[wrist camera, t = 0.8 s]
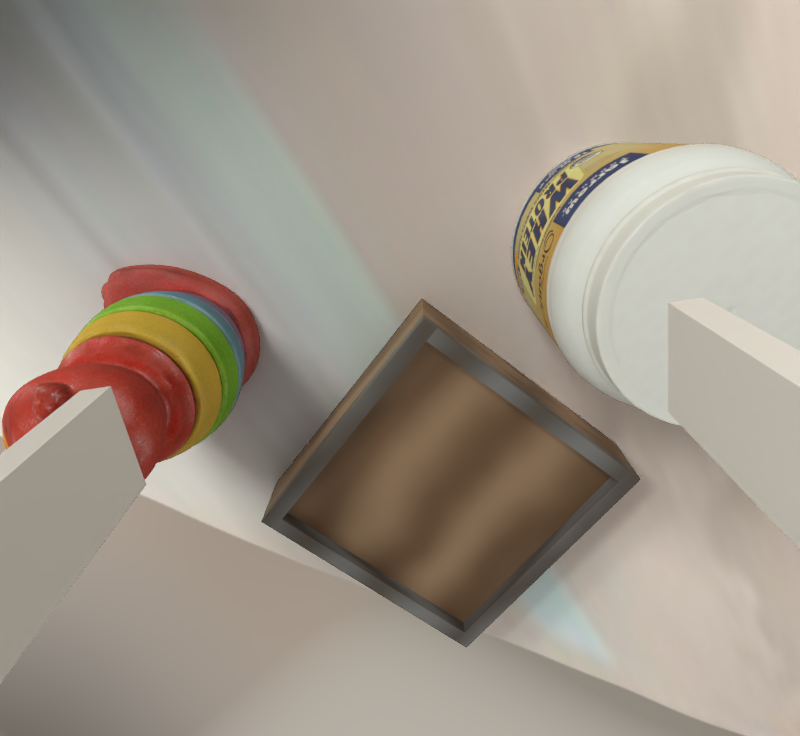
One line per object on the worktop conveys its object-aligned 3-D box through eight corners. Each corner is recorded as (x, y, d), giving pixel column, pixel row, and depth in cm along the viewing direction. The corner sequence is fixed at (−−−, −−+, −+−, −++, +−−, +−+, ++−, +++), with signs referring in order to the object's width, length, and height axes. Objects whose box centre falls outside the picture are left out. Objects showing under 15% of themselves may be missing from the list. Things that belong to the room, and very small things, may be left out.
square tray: (276, 482, 46) (261, 521, 41) (421, 298, 41) (423, 318, 36) (460, 599, 50) (466, 647, 45) (616, 443, 44) (640, 479, 40)
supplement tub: (555, 112, 37) (667, 89, 21) (732, 182, 38) (965, 212, 22) (479, 298, 41) (523, 397, 25) (641, 356, 42) (782, 486, 26)
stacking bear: (100, 267, 40) (-116, 355, 24) (250, 255, 40) (136, 337, 23) (137, 414, 44) (-27, 579, 28) (274, 405, 44) (192, 567, 27)
